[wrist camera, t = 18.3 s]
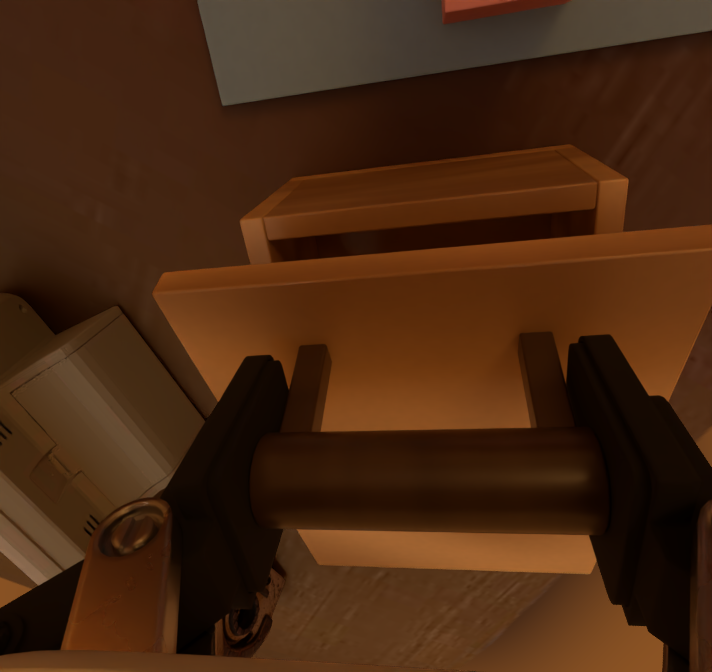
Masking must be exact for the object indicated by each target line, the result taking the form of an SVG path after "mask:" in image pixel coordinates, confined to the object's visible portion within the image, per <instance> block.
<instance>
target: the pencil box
mask: <svg viewBox="0 0 712 672" xmlns="http://www.w3.org/2000/svg"><path fill="white" fill-rule="evenodd" d="M628 182H629V180H628V178H626V177H625V176H623V175H621V174H620V173H618V172H616V171H615V170H613V169H611V168H610V167H608V166H606V165H605V164H603V163H601V162H600V161H598V160H596V159H595V158H593V157H591V156H590V155H588V154H586V153H584V152H583V151H581V150H579V149H578V148H576V147H574V146H572V145H571V144H567V145H559V146H550V147H542V148H534V149H526V150H517V151H509V152H501V153H493V154H484V155H476V156H468V157H460V158H451V159H443V160H435V161H427V162H418V163H410V164H402V165H394V166H385V167H377V168H369V169H361V170H352V171H344V172H336V173H328V174H319V175H311V176H303V177H294V178H292V179H291V180H289V181H288V182H287V183H285V184H284V185H283V186H282V187H280V188H279V189H278V190H277V191H275V192H274V193H273V194H272V195H270V196H269V197H268V198H267V199H265V200H264V201H263V202H262V203H260V204H259V205H258V206H257V207H255V208H254V209H253V210H252V211H250V212H249V213H248V214H247V215H245V216H244V217H243V218H242V219H240V225H241V229H242V233H243V237H244V241H245V245H246V249H247V253H248V257H249V261H250V265H254V264H265V263H277V262H288V261H300V260H311V259H322V258H334V257H345V256H357V255H368V254H379V253H391V252H402V251H414V250H425V249H436V248H448V247H459V246H471V245H482V244H493V243H505V242H516V241H528V240H539V239H550V238H562V237H573V236H585V235H596V234H607V233H619V232H623V225H624V217H625V208H626V199H627V191H628Z"/></svg>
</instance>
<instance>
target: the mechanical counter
mask: <svg viewBox="0 0 712 672" xmlns="http://www.w3.org/2000/svg"><path fill="white" fill-rule="evenodd" d="M284 583H285V579H284V578H283V577H282V576H281V575H280V574H278V573H277V572H276V571H275V570H274V569H273V568H271V571H270V575H269V578H268V581H267V584H266V587H265V589H264V590H263V591H262V592H257V593H256V596H255V600H254V603H253V606H252V609H230V612H229V614H227V615H226V616H225V617H223V618H222V619H223V650H224V656H226V657H244V658H251V657H252V656H253V655H254V653H255V652H256V651H257V650H258V648H259V647H260V646H261V644H262V643H263V642H264V641H265V640H266V638H267V636H268V634H269V632H270V629H271V626H272V619H271V618H272V615H273V612H274V609H275V607H276V604H277V601H278V599H279V596H280V593H281V591H282V588H283V586H284Z"/></svg>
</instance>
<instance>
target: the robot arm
mask: <svg viewBox="0 0 712 672" xmlns="http://www.w3.org/2000/svg"><path fill="white" fill-rule="evenodd" d="M566 386H567V390H568V394H569V398H570V402H571V406H572V409H573V413H574V417H575V421H576V425H577V427H589V428H591V429H592V430H593V431H594V432H595V434H596V436H597V438H598V440H599V442H600V444H601V447H602V450H603V453H604V457H605V461H606V465H607V471H608V477H609V484H610V495H611V512H610V521H609V526H608V529H607V531H606V533H605V534H603V535H589V538H590V541H591V544H592V547H593V550H594V553H595V557H596V560H597V562H598V566H599V569H600V572H601V575H602V578H603V581H604V584H605V588H606V591H607V594H608V597H609V599H610V601H611V603H612V604H613V605H622V607H623V610H624V613H625V616H626V619H627V622H628V625H632V626H647V629H648V631H649V632H650V633H651V634H652V635H654V636H655V637H656V638H658V639H659V640H661V641H662V642H663V643H664V647H663V668H662V672H712V467H711V466H710V464H709V463H708V461H707V460H706V458H705V457H704V455H703V454H702V452H701V451H700V449H699V448H698V446H697V445H696V443H695V442H694V440H693V439H692V437H691V436H690V434H689V433H688V431H687V430H686V428H685V427H684V425H683V424H682V422H681V421H680V419H679V417H678V416H677V414H676V413H675V411H674V410H673V408H672V407H671V405H670V404H669V402H668V401H667V400H666V399H665V398H664V397H662V396H660V395H653V396H649V395H648V393H647V392H646V390H645V389H644V387H643V385H642V384H641V382H640V380H639V379H638V377H637V376H636V374H635V372H634V371H633V369H632V368H631V366H630V364H629V363H628V361H627V360H626V358H625V356H624V355H623V353H622V351H621V350H620V348H619V347H618V345H617V343H616V342H615V340H614V339H613V337H612V336H611V335H610V334H604V335H588V336H580V337H579V340H578V343H570V345H569V349H568V362H567V376H566ZM288 392H289V389H288V385H287V382H286V378H285V374H284V370H283V367H282V364H281V362H280V361H279V360H274V358H273V357H272V356H271V355H255V356H246V357H245V358H244V360H243V361H242V363H241V365H240V366H239V368H238V370H237V371H236V373H235V375H234V377H233V378H232V380H231V382H230V383H229V385H228V387H227V388H226V390H225V392H224V393H223V395H222V397H221V398H220V400H219V402H218V403H217V405H216V407H215V408H214V410H213V412H212V414H211V415H210V416H209V417H208V418H207V420H206V421H205V423H204V425H203V426H202V428H201V430H200V431H199V433H198V435H197V436H196V438H195V440H194V441H193V443H192V445H191V446H190V448H189V450H188V452H187V453H186V455H185V457H184V458H183V460H182V462H181V463H180V465H179V467H178V468H177V470H176V472H175V473H174V475H173V477H172V478H171V480H170V482H169V483H168V485H167V487H166V488H165V490H164V492H163V493H162V495H161V497H160V498H152V497H147V498H141V499H136V500H134V501H131V502H129V503H126V504H124V505H122V506H121V507H119V508H117V509H116V510H114V511H112V512H111V513H110V514H109V515H108V516H107V517H106V518H104V519H103V520H102V521H101V522H100V524H99V525H98V526H97V528H96V529H95V530H94V532H93V534H92V536H91V538H90V541H89V544H88V548H87V551H86V555H85V559H83V560H81V561H80V562H78V563H76V564H74V565H73V566H71V567H69V568H68V569H66V570H64V571H63V572H61V573H59V574H57V575H56V576H54V577H52V578H51V579H49V580H47V581H46V582H44V583H42V584H40V585H39V586H37V587H35V588H34V589H32V590H30V591H29V592H27V593H25V594H23V595H22V596H20V597H18V598H17V599H15V600H13V601H12V602H10V603H8V604H7V605H5V606H3V607H1V608H0V672H475V671H459V670H443V669H427V668H411V667H395V666H379V665H363V664H346V663H330V662H313V661H297V660H279V659H261V658H244V657H226V656H224V650H223V619H222V618H223V617H225V616H226V615H227V614H229V612H230V609H252V606H253V603H254V600H255V596H256V593H257V592H262V591H263V590H264V589H265V587H266V584H267V581H268V578H269V575H270V571H271V568H272V565H273V561H274V558H275V555H276V552H277V548H278V545H279V542H280V538H281V535H282V532H283V529H264V528H262V527H260V526H259V525H258V524H257V523H256V521H255V519H254V517H253V514H252V510H251V505H250V497H249V477H250V468H251V462H252V458H253V454H254V451H255V448H256V446H257V443H258V442H259V440H260V438H261V437H262V436H263V435H265V434H267V433H275V432H279V431H280V427H281V422H282V418H283V414H284V410H285V405H286V401H287V397H288Z"/></svg>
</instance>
